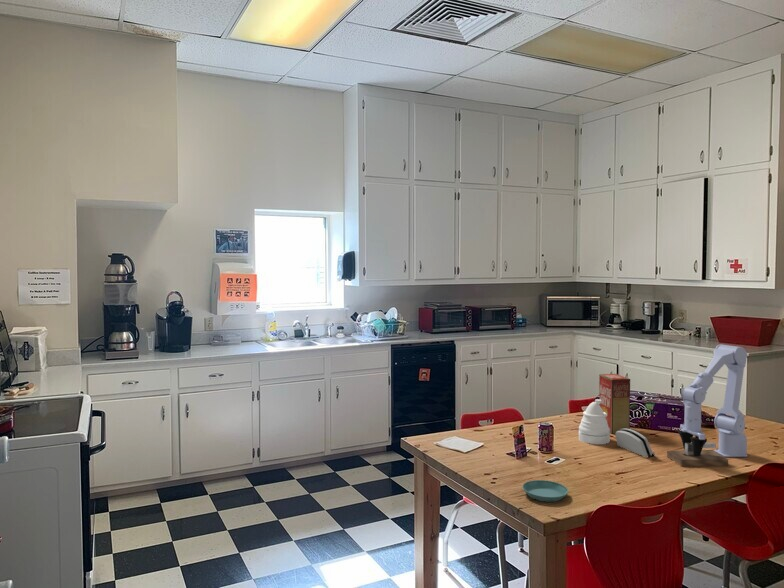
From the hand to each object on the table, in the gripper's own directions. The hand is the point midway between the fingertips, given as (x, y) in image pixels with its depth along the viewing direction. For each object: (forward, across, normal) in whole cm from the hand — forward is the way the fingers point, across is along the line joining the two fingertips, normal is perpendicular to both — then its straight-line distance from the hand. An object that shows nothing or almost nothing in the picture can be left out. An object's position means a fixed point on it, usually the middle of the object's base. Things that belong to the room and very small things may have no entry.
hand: (691, 452), depth 228 cm
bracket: (+3, 0, +3) cm, 5 cm away
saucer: (+4, +31, -66) cm, 73 cm away
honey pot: (+4, -29, -28) cm, 40 cm away
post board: (+3, 0, +2) cm, 4 cm away
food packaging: (+4, -44, -12) cm, 46 cm away
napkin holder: (+4, -13, -17) cm, 22 cm away
